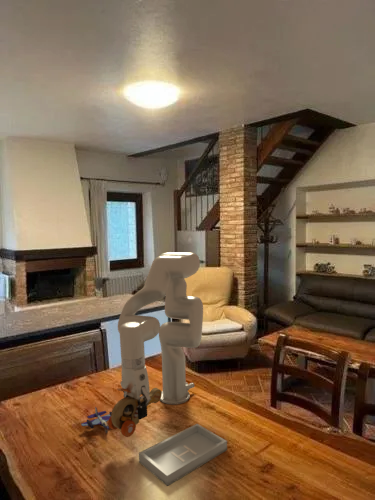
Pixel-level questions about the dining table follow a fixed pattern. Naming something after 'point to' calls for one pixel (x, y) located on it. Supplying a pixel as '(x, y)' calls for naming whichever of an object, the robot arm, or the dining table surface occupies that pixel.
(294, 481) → the dining table surface
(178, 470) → the tray
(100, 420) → the toy airplane
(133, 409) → the toy helicopter
